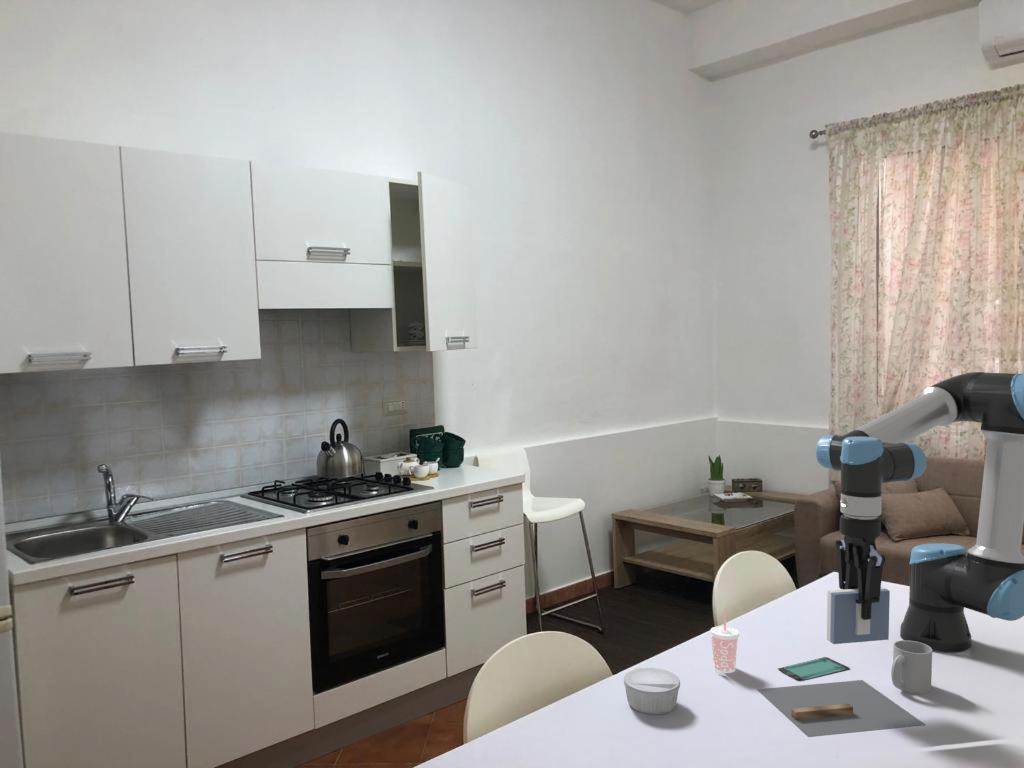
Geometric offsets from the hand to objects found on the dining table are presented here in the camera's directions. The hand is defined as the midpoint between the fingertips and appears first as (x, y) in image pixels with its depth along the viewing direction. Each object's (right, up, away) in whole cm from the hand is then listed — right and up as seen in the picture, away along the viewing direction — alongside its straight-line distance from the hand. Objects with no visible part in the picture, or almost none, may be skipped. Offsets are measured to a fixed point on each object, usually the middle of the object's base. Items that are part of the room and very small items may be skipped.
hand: (857, 630), depth 164 cm
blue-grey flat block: (0, -2, 0) cm, 2 cm away
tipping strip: (-10, -15, -7) cm, 19 cm away
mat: (-5, -15, -3) cm, 16 cm away
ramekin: (-41, -15, 0) cm, 44 cm away
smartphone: (-4, -14, +15) cm, 20 cm away
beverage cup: (-23, -14, +15) cm, 31 cm away
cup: (+12, -14, +5) cm, 20 cm away
